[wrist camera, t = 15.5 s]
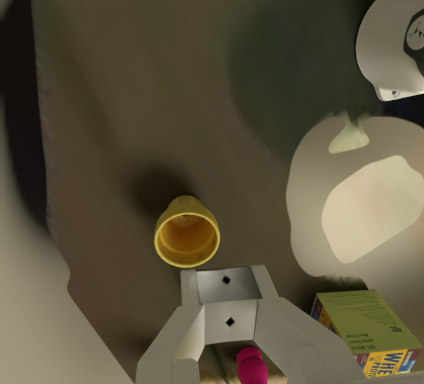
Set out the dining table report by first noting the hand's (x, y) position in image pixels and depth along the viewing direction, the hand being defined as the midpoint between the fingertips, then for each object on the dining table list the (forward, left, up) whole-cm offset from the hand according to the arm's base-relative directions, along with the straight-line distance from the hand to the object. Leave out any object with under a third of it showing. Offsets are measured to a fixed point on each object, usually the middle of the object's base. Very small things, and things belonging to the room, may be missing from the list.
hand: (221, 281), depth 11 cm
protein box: (-37, +48, -39) cm, 72 cm away
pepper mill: (-15, +62, -39) cm, 75 cm away
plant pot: (0, +19, -39) cm, 44 cm away
